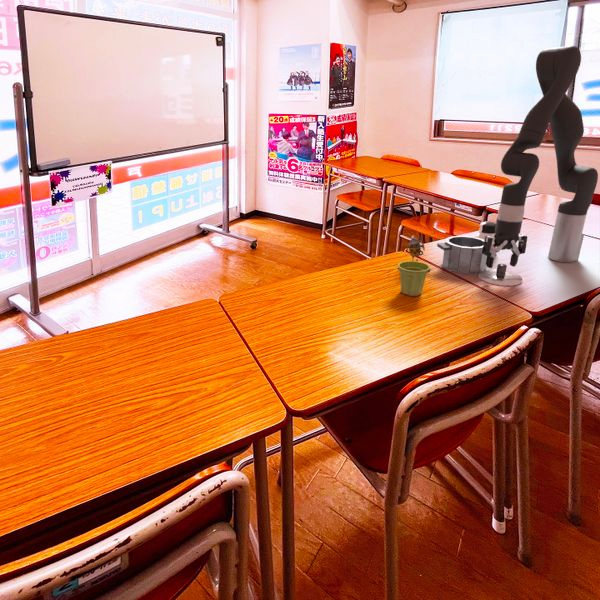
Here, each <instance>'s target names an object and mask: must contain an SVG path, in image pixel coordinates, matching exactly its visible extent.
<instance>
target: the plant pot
mask: <svg viewBox="0 0 600 600" xmlns="http://www.w3.org/2000/svg"><path fill="white" fill-rule="evenodd" d="M398 267H399V268H398ZM397 268H398V269H399V273H400V274H399V275H400V291H401V294H404V295H405V294H406V295H407V296H411V297H412V296H413V297H414V296H419V295H420V294H421V295H422V292H423V289H424V285H425V281H426V277H427V274H428V273H429V272H428V270H429V269H430V270H431V265H429V264H428V263H425V262H423V261H422V262H421V261H415V260H414V261H412V260H407V261H406V260H405V261H401V262H399V263H398V264H397Z"/></svg>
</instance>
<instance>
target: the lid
mask: <svg viewBox="0 0 600 600" xmlns="http://www.w3.org/2000/svg"><path fill="white" fill-rule="evenodd" d="M507 266H508V265H507V264H505V263H497V267H496V269H495V268H494V269H493V268H490V269H485V270H484V271H481V272H479V273H478V275H479V276H478V278H479V279H480V280H481V281H482V282H484V283H488V284H490V283H491V284H490V285H494V286H501V287H514V285H515V286H518V284H519V285H520V283H521V282H523V277H522V276H521V275H520V274H518V273H515V272H512V271H508V270H507ZM521 284H522V283H521Z"/></svg>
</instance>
